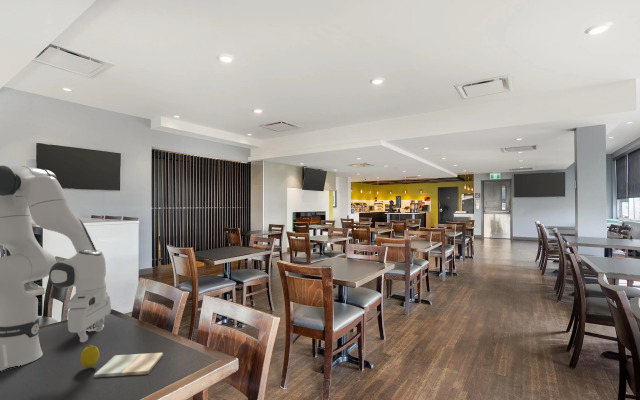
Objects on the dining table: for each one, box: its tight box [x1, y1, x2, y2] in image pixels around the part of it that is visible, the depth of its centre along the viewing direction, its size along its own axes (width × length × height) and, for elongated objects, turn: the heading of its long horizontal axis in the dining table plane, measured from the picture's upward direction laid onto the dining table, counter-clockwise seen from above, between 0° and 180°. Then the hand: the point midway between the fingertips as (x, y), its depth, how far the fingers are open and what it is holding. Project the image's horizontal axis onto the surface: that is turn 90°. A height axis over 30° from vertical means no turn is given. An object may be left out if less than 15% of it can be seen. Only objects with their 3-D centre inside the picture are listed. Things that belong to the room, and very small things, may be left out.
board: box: [93, 352, 164, 378], centre depth 117 cm, size 17×14×1 cm
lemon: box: [79, 344, 100, 369], centre depth 115 cm, size 6×6×8 cm
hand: (92, 335), depth 115 cm, fingers open, 8 cm apart
